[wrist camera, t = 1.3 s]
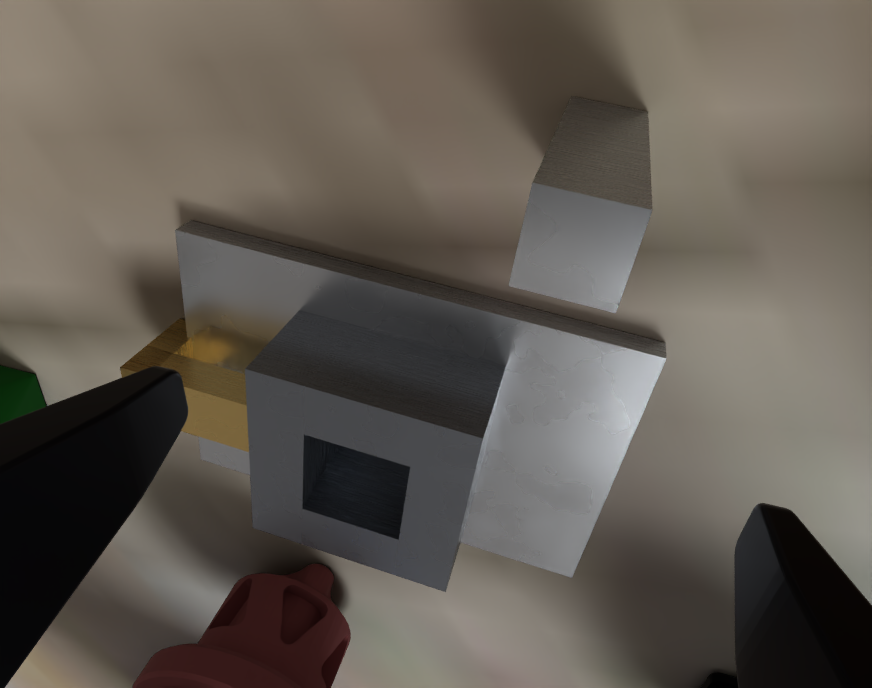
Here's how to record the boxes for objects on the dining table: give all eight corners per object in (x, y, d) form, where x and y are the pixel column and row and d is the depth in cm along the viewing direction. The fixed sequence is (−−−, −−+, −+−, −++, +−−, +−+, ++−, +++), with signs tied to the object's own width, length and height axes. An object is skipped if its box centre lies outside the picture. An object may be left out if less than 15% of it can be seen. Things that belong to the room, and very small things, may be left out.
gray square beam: (647, 111, 18) (652, 210, 11) (624, 185, 19) (615, 312, 12) (571, 96, 18) (532, 182, 12) (553, 170, 19) (508, 286, 13)
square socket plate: (665, 342, 21) (671, 437, 17) (573, 559, 28) (562, 663, 24) (167, 214, 24) (71, 269, 20) (194, 439, 31) (126, 515, 27)
